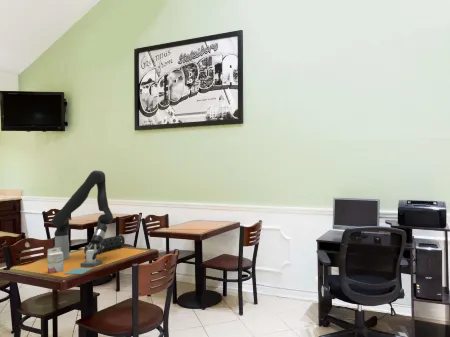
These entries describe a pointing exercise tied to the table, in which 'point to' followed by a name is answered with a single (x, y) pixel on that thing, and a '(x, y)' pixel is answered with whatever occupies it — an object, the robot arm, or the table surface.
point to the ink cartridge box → (55, 260)
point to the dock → (91, 264)
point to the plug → (90, 256)
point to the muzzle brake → (113, 242)
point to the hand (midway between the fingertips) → (89, 259)
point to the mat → (78, 271)
